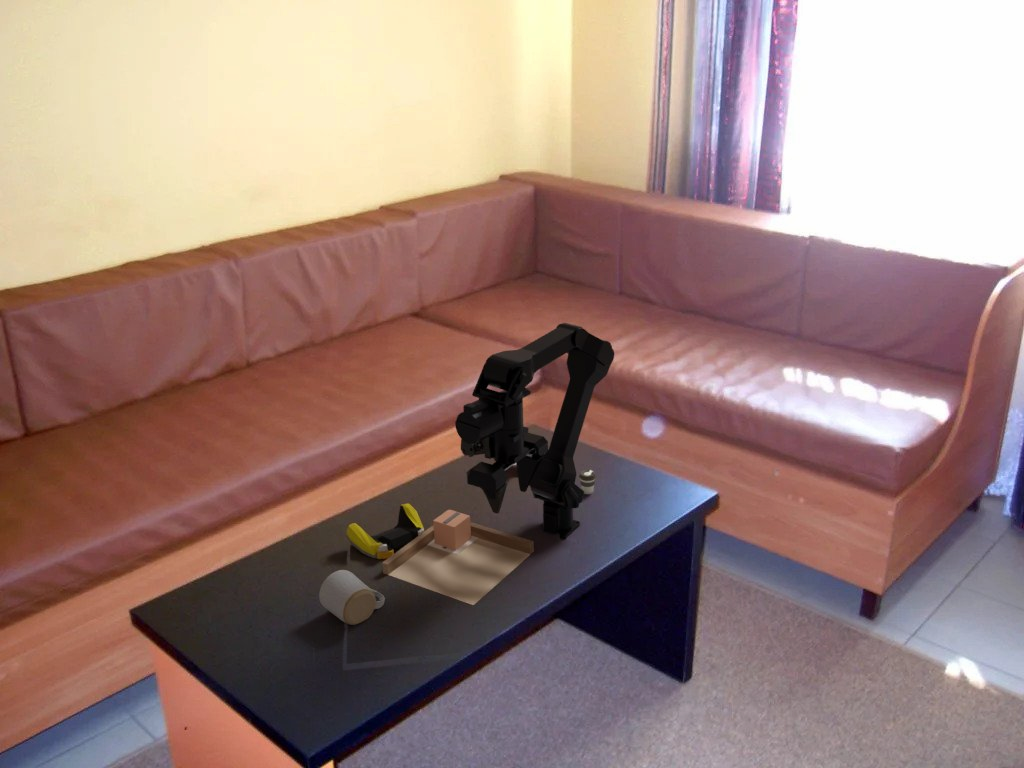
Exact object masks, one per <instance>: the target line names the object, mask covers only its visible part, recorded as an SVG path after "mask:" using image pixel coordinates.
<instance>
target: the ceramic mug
mask: <svg viewBox="0 0 1024 768" xmlns="http://www.w3.org/2000/svg"><path fill="white" fill-rule="evenodd" d="M318 593H319V594H318V595H319V596H318V597H319V598H318V599H319V601H320V604H321V606H323V608H324V609H326V610H327V611H329V612H330V613H332V615H333V616H336V618H338V619H339V620H340V621H342V622H343V623H345V624H347V625H350V626H355V625H357V624H360V623H362V622H365V621H366V620H369V618H370V617H371V616H372V614H373V613H374V610H379V609H381V608H382V607H383V606H384V604H385V601H386V598H385V596H384V595H383V594H382V593H380V592H379V591H377V590H375V589H372V588H370V587H369V586H368V585H366V584H365V583H364V582H363V581H362V580H361V579H360V578H358V576H356V575H355V574H354V573H353V572H352V571H349V570H348V569H347V570H346V569H339V570H336V571H334V572H332V573H330V574H329V575H328V576H327V577H326V578H325V579H324V580H323V582H322V584H321V586H320V589H319V592H318ZM376 598H378V600H377V599H376Z"/></svg>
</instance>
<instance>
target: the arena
mask: <svg viewBox="0 0 1024 768" xmlns="http://www.w3.org/2000/svg"><path fill="white" fill-rule="evenodd" d="M470 526H471V539H470V540H469V541H467V542H466V543H465V544H463V545H462V546H461V547H460V548H458V549H457V550H453V549H450V548H447V547H444V546H441V545H438V544H435V540H434V525H433V524H432V525H431V526H430V527H429V528H427V529H425V531H424V532H423V533H422V534H421V535H419V536H418V537H416V538H415V539H414V540H412V541H411V542H410V543H408V544H407V545H405V546H404V547H403V548H401V549H400V550H399V551H397V552H396V553H395V554H393V555H392V556H391V557H389V558H388V559H384V561H382V563H381V564H382V573H383V574H384V575H387V576H389V577H393V578H395V579H398V580H401V581H403V582H407V583H409V584H412V585H415V586H418V587H420V588H423V589H427V590H429V591H431V592H435V593H438V594H441V595H443V596H446V597H450V598H452V599H455V600H458V601H460V602H463V603H467V604H469V605H472V606H475V605H476V603H478V602H479V601H480V600H481V599H482V598H484V597H485V596H486V595H487V594H488V593H489V592H490V591H491V590H492V589H494V588H495V587H496V586H497V585H498V584H499V583H501V581H503V580H504V579H505V578H506V577H507V576H508V575H509V574H510V573H512V572H513V571H514V570H515V569H516V568H517V567H518V566H519V565H520V564H522V563H523V562H524V561H525V560H526V559H527V558H528V557H529V556H530V555H532V554H533V553H534V550H535V548H534V540H530V539H528V538H525V537H521V536H518V535H514V534H511V533H507V532H504V531H501V530H497V529H494V528H490V527H488V526H486V525H482V524H478V523H474V522H472V521H470Z"/></svg>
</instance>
